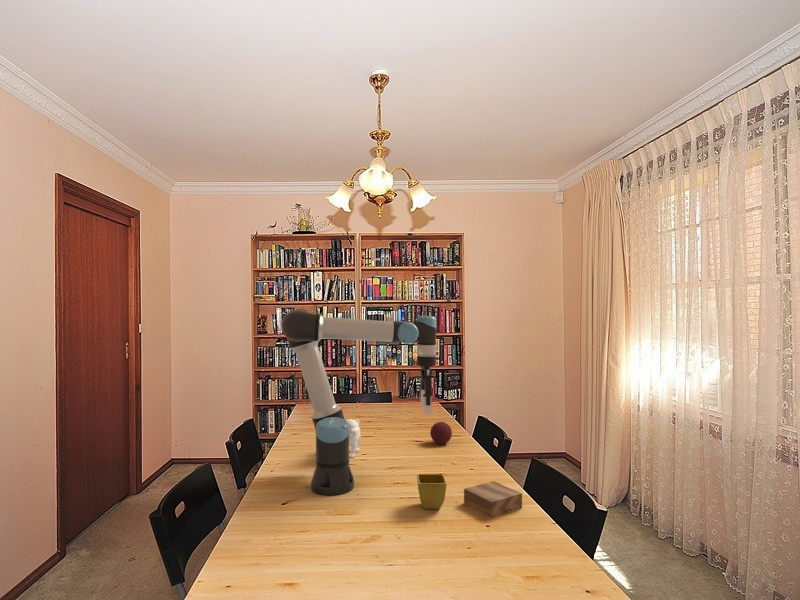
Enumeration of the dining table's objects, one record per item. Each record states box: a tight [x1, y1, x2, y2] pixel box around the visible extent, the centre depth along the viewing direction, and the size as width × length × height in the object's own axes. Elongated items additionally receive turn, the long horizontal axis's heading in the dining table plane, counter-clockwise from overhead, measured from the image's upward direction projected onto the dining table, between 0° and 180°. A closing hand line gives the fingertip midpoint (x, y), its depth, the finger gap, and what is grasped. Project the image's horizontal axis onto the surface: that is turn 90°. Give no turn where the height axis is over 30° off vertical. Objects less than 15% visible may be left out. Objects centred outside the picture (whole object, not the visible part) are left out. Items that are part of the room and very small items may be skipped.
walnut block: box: [463, 480, 523, 518], centre depth 160 cm, size 13×13×5 cm
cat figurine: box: [345, 418, 362, 459], centre depth 215 cm, size 25×10×17 cm, turn 12°
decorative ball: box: [429, 421, 453, 445], centre depth 230 cm, size 10×10×10 cm
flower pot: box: [416, 473, 448, 510], centre depth 160 cm, size 9×9×9 cm
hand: (425, 409), depth 195 cm, fingers open, 13 cm apart
